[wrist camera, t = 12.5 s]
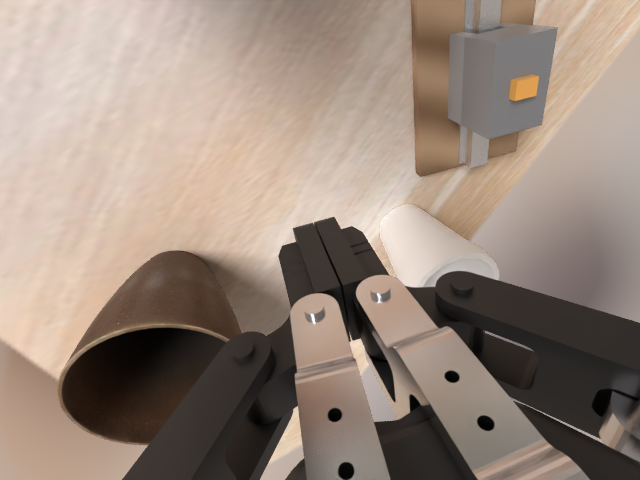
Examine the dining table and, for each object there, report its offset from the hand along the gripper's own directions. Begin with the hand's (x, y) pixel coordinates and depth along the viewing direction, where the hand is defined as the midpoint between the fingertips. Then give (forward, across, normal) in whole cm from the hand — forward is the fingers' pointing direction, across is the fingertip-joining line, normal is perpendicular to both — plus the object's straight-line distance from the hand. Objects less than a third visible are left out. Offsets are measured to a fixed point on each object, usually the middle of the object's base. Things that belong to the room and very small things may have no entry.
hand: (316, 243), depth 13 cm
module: (+26, -22, +3) cm, 34 cm away
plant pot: (+27, +14, +18) cm, 35 cm away
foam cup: (+27, -14, +20) cm, 37 cm away
